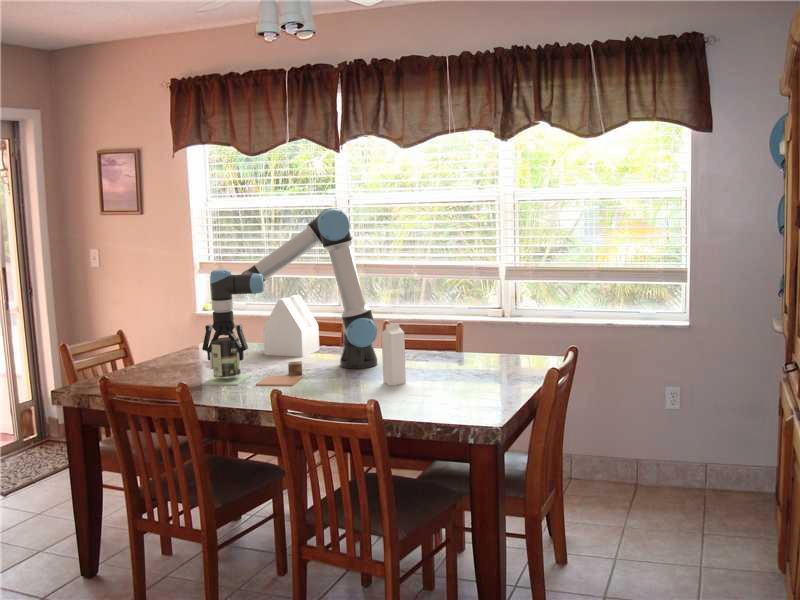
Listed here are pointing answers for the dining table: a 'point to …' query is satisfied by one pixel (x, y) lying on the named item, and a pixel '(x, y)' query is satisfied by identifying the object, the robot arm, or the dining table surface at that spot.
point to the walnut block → (295, 368)
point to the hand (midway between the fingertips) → (226, 368)
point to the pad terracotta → (279, 380)
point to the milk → (393, 355)
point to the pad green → (227, 380)
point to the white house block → (291, 329)
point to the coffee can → (225, 358)
